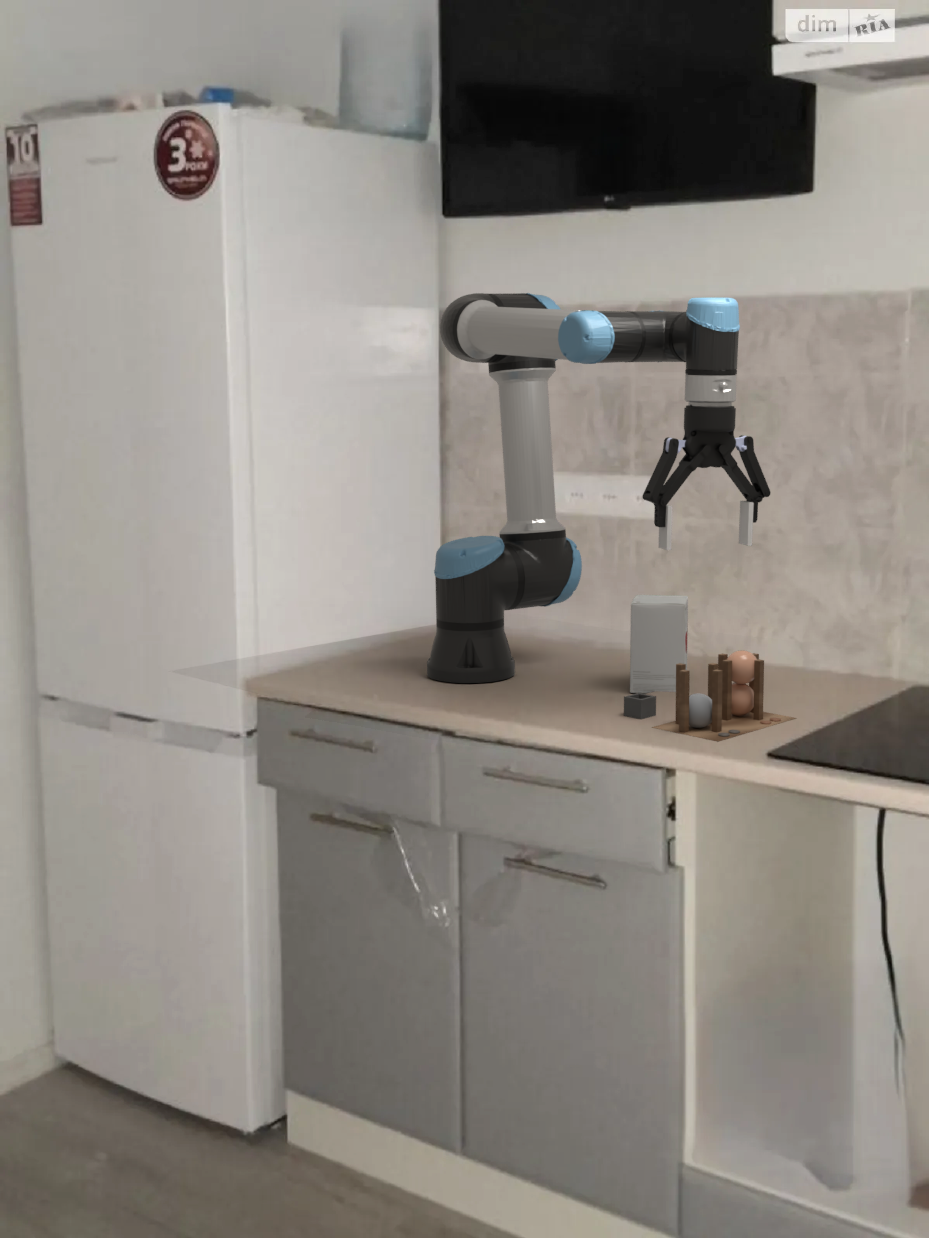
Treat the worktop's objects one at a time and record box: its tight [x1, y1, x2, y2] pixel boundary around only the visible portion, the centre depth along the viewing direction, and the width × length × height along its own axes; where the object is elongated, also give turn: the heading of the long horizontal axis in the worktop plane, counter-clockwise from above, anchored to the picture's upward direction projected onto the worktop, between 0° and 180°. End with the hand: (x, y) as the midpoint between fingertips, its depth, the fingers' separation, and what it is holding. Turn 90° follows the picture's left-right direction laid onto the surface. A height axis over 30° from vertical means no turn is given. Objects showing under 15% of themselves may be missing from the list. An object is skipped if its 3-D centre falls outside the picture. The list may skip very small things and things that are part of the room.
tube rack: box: [651, 652, 798, 743], centre depth 223 cm, size 12×19×10 cm, turn 133°
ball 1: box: [689, 692, 712, 728], centre depth 220 cm, size 5×5×5 cm
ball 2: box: [731, 682, 754, 716], centre depth 227 cm, size 5×5×5 cm
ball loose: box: [727, 650, 757, 684], centre depth 226 cm, size 5×5×5 cm
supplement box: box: [629, 594, 689, 695], centre depth 248 cm, size 9×9×15 cm
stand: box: [623, 693, 657, 720], centre depth 228 cm, size 3×3×4 cm
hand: (705, 546), depth 229 cm, fingers open, 13 cm apart
